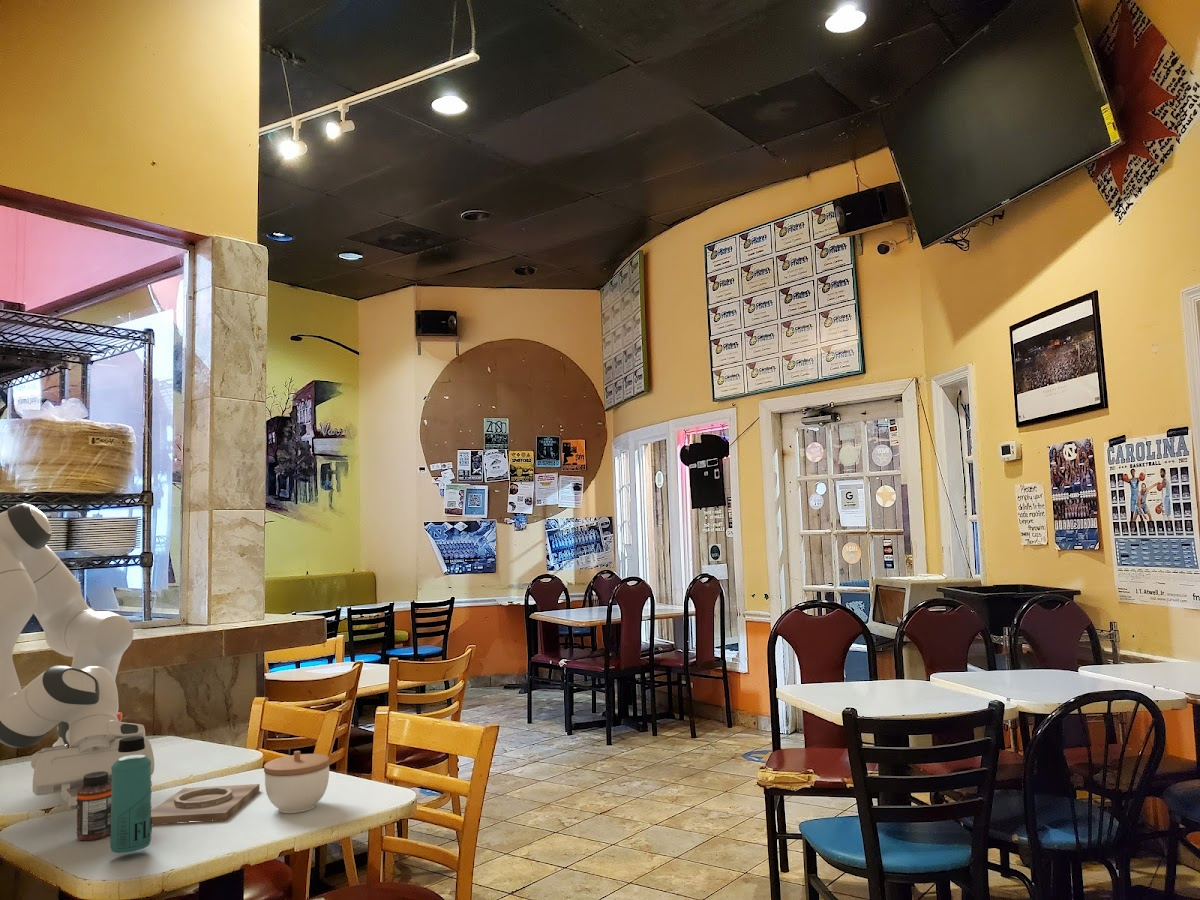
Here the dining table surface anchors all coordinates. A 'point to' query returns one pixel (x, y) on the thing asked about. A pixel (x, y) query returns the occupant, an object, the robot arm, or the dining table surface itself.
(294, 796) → the lidded bowl
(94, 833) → the supplement bottle
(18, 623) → the robot arm
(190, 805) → the walnut seat board
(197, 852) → the dining table surface
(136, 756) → the beverage bottle
